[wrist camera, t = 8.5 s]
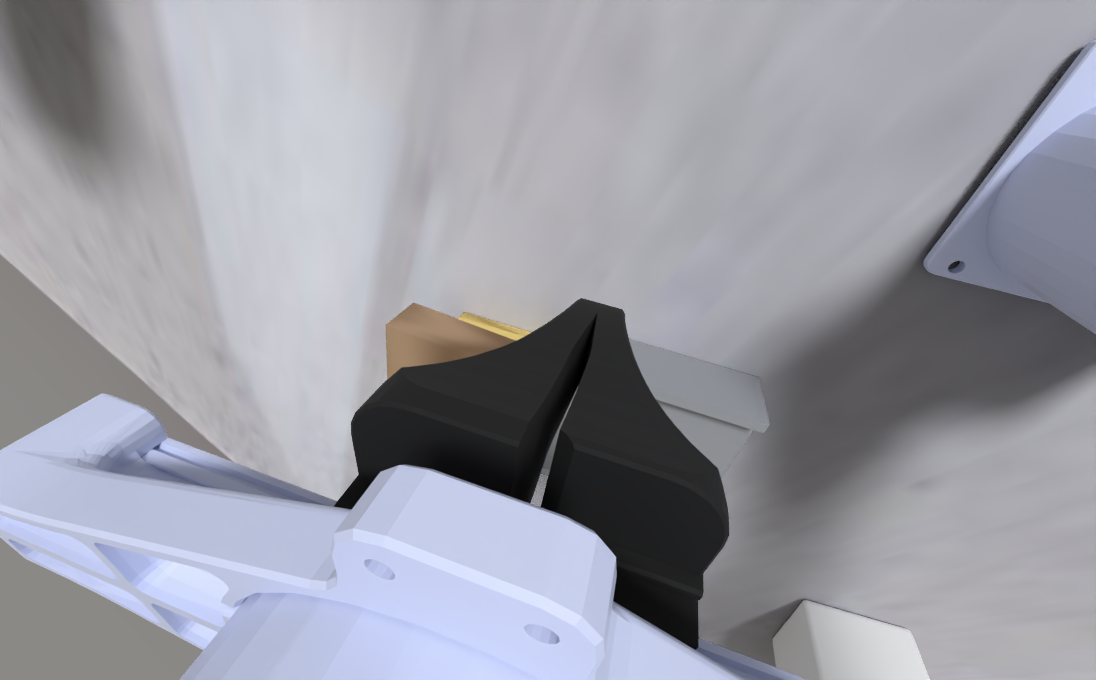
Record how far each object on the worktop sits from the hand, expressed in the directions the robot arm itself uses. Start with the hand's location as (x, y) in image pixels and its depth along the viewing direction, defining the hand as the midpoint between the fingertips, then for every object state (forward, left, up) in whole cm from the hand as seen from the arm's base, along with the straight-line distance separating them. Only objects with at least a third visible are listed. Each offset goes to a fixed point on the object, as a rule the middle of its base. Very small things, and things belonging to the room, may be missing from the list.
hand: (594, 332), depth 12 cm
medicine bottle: (-24, +26, -10) cm, 37 cm away
